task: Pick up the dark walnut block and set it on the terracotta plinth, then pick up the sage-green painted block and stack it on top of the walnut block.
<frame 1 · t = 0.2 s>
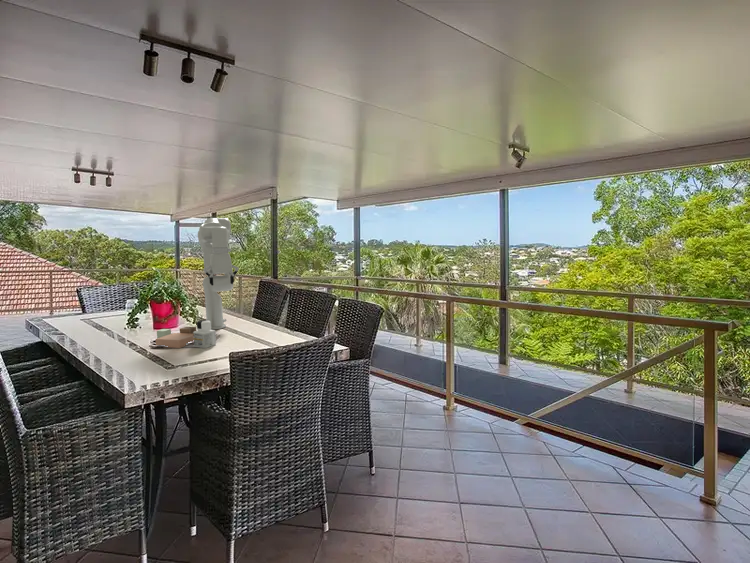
hand: (222, 284, 225), 31 cm above the table, tool pointing down, fingers open, 9 cm apart
sage block: (164, 338, 241), on the table
container: (205, 346, 224), on the table
plinth: (177, 343, 229), on the table
walnut block: (188, 338, 241), on the table
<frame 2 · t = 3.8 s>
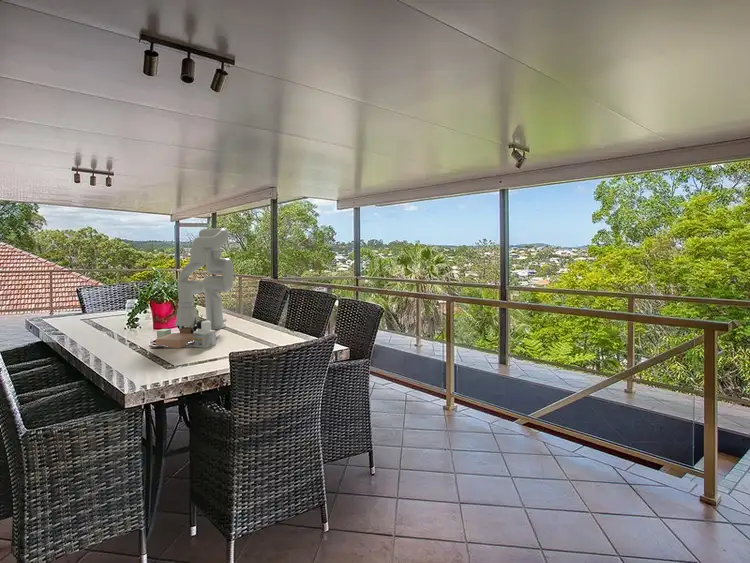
hand: (188, 337, 240), 1 cm above the table, tool pointing down, fingers closed on walnut block, 6 cm apart
walnut block: (188, 338, 241), on the table, touching gripper
everything else where it was.
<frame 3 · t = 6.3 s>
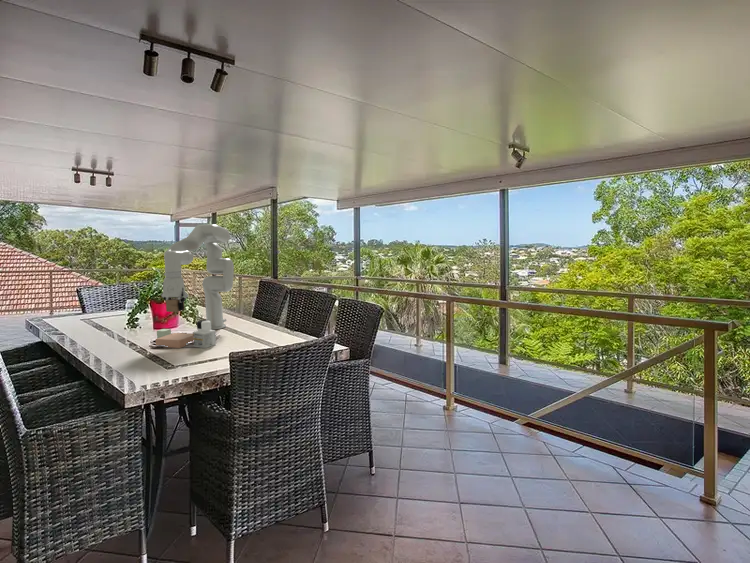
hand: (175, 309, 227), 18 cm above the table, tool pointing down, fingers closed on walnut block, 6 cm apart
walnut block: (175, 310, 227), point 17 cm above the table, touching gripper
everything else where it was.
when the fingers open (6 cm above the table, at t = 9.0 s): walnut block drops 1 cm, resting on plinth.
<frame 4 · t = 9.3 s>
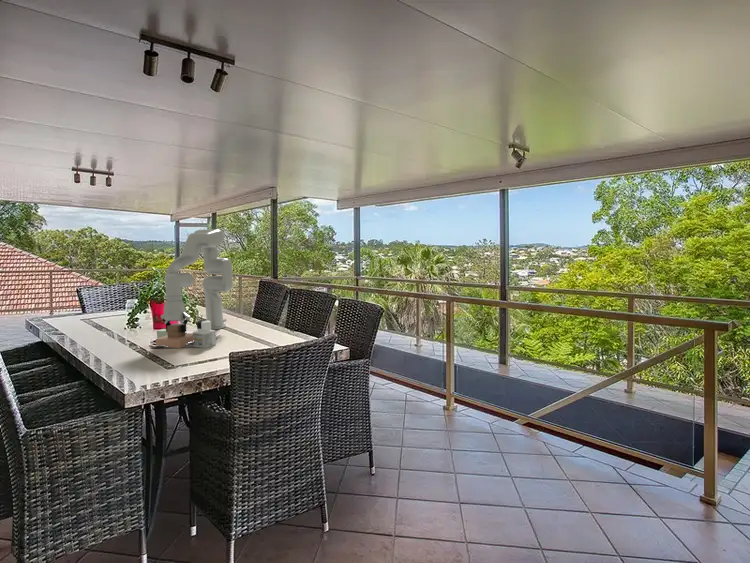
hand: (176, 331, 228), 7 cm above the table, tool pointing down, fingers open, 8 cm apart
walnut block: (176, 336, 228), point 4 cm above the table, touching plinth
everything else where it was.
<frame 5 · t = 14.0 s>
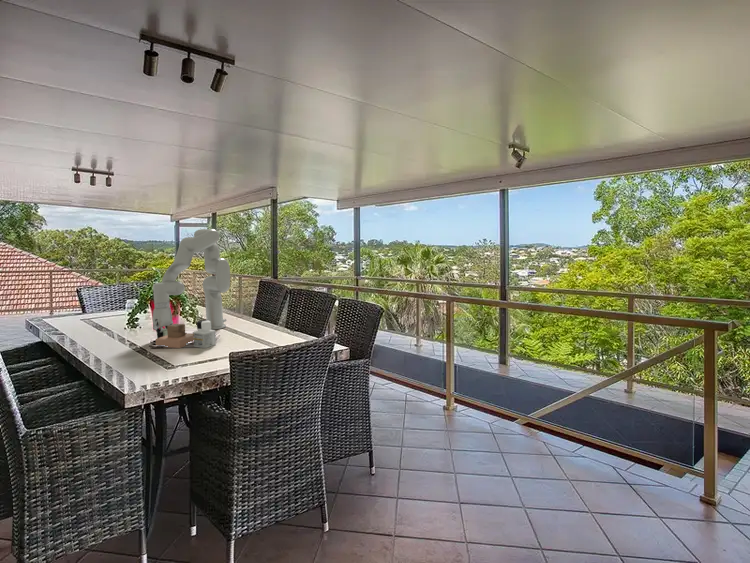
hand: (164, 337, 241), 0 cm above the table, tool pointing down, fingers closed on sage block, 5 cm apart
sage block: (164, 338, 241), on the table, touching gripper
everything else where it was.
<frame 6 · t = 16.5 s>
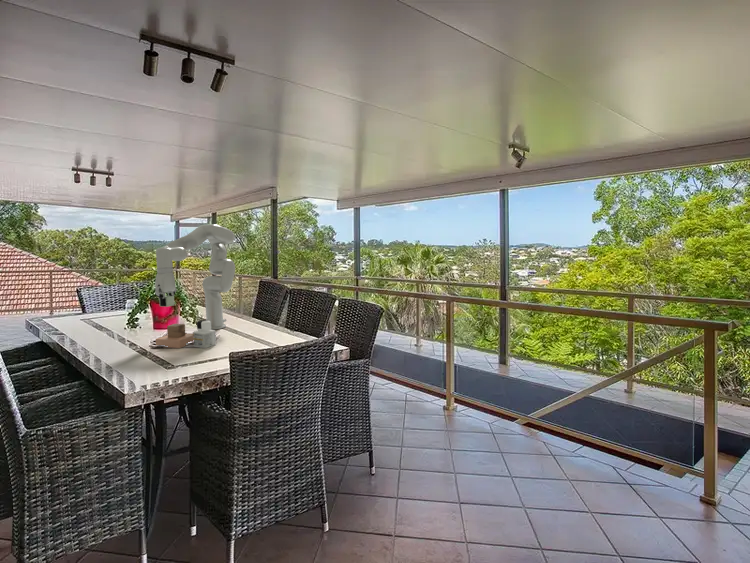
hand: (167, 304, 233), 20 cm above the table, tool pointing down, fingers closed on sage block, 5 cm apart
sage block: (167, 305, 233), point 19 cm above the table, touching gripper
everything else where it was.
when the fingers open (12 cm above the table, at t = 18.9 s): sage block drops 1 cm, resting on walnut block.
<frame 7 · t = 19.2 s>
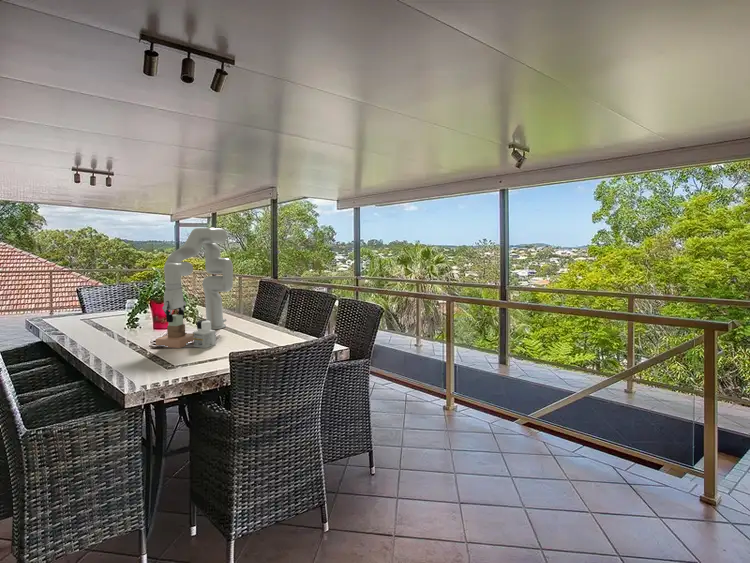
hand: (175, 320, 227), 13 cm above the table, tool pointing down, fingers open, 8 cm apart
sage block: (175, 325, 228), point 10 cm above the table, touching walnut block
walnut block: (176, 336, 228), point 4 cm above the table, touching plinth, sage block
everything else where it was.
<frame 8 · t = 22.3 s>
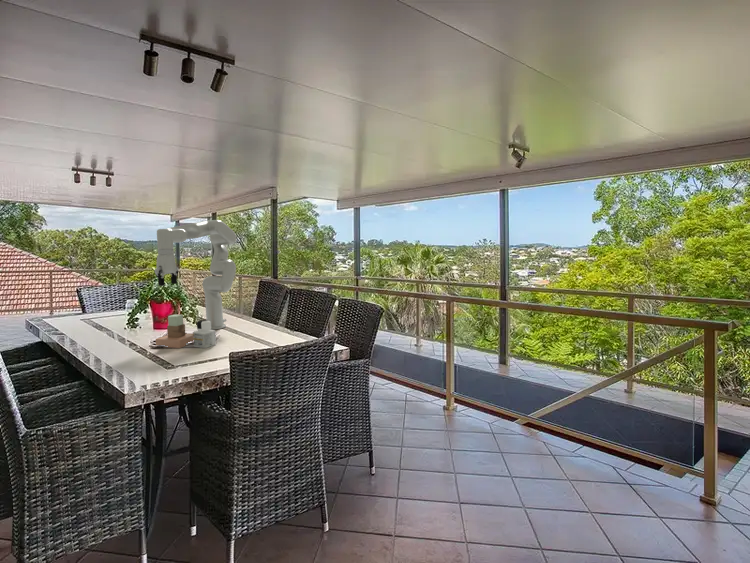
hand: (168, 284, 233), 30 cm above the table, tool pointing down, fingers open, 9 cm apart
nothing on the table moved.
at the end: walnut block inside the target area on the plinth (0.1 cm from its centre), point 4.0 cm above the plinth's base; sage block 0.0 cm off-centre on the walnut block, point 6.0 cm above the walnut block's base; sage block tilted 0° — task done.
